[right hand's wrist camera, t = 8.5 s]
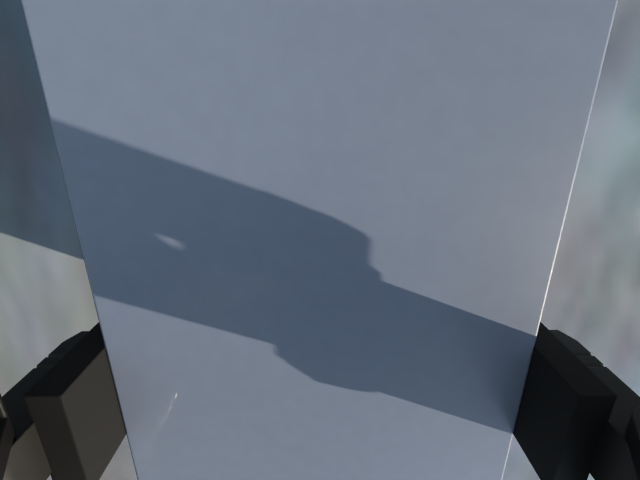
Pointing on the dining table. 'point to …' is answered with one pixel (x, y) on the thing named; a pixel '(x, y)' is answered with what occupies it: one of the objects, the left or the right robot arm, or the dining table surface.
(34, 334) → the dining table surface
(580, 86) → the cabinet
